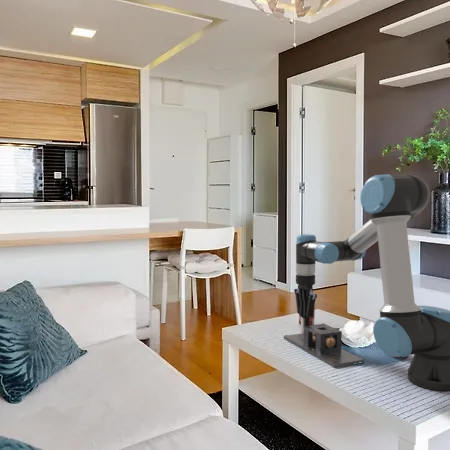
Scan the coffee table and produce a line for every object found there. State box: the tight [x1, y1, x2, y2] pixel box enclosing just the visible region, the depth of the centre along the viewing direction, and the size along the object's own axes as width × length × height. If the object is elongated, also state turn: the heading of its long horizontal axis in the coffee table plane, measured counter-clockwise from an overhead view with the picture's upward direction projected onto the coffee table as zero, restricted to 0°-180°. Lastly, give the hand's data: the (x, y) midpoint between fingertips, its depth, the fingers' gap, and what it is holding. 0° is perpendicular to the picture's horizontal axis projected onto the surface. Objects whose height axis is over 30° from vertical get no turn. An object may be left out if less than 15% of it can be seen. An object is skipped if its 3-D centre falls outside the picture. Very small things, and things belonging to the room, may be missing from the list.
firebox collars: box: [283, 323, 364, 369], centre depth 176 cm, size 34×12×8 cm, turn 23°
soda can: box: [298, 304, 316, 326], centre depth 208 cm, size 7×7×12 cm
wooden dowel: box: [303, 329, 335, 347], centre depth 177 cm, size 16×4×4 cm, turn 23°
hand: (304, 333), depth 186 cm, fingers closed
